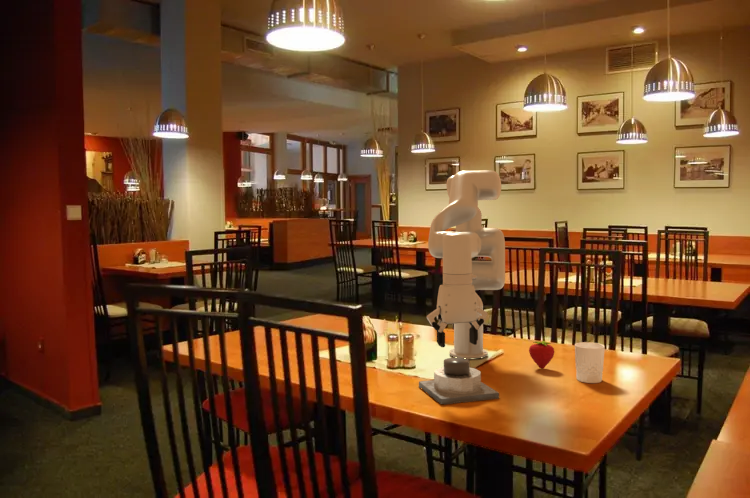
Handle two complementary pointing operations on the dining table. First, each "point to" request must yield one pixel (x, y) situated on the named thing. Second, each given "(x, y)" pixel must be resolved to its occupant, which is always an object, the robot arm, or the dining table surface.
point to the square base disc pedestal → (458, 387)
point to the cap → (456, 366)
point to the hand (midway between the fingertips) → (457, 344)
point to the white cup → (589, 361)
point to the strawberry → (541, 353)
